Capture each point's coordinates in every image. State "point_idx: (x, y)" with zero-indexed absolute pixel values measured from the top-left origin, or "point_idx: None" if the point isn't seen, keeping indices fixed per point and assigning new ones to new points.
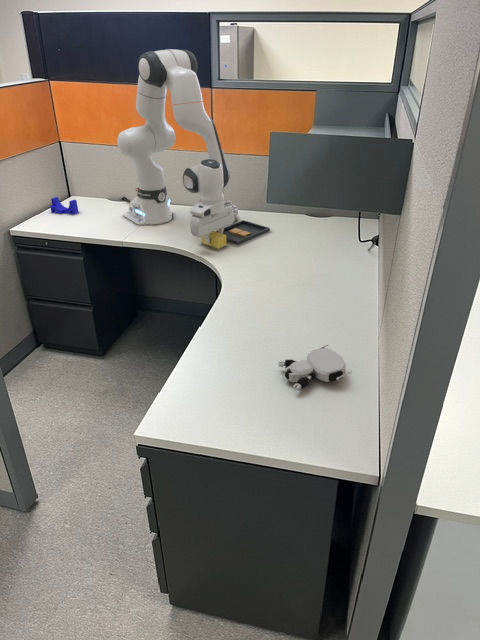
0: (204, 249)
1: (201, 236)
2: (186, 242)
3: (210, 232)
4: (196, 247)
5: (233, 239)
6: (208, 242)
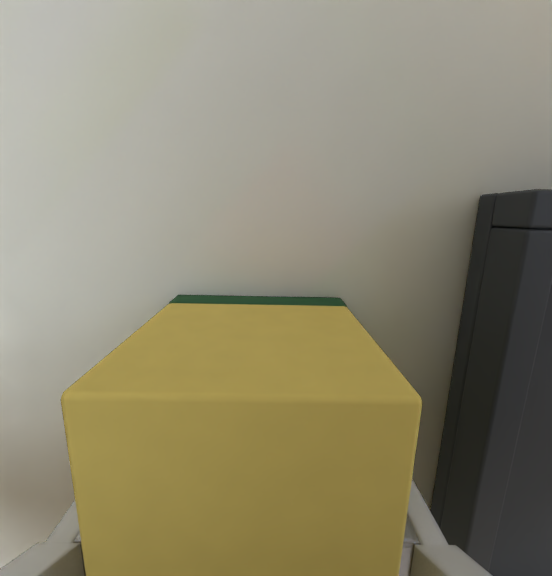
0: None
1: (117, 348)
2: (69, 24)
3: (256, 564)
4: (64, 302)
5: (535, 518)
6: None
